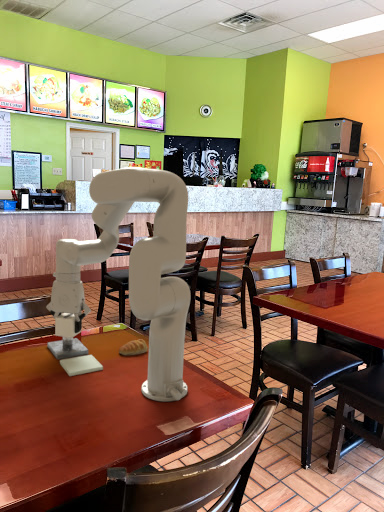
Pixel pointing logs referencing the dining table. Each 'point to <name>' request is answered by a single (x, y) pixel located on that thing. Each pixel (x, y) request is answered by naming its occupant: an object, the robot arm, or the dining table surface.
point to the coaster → (81, 365)
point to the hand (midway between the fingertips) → (68, 330)
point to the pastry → (134, 347)
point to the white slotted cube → (65, 325)
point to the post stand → (67, 348)
